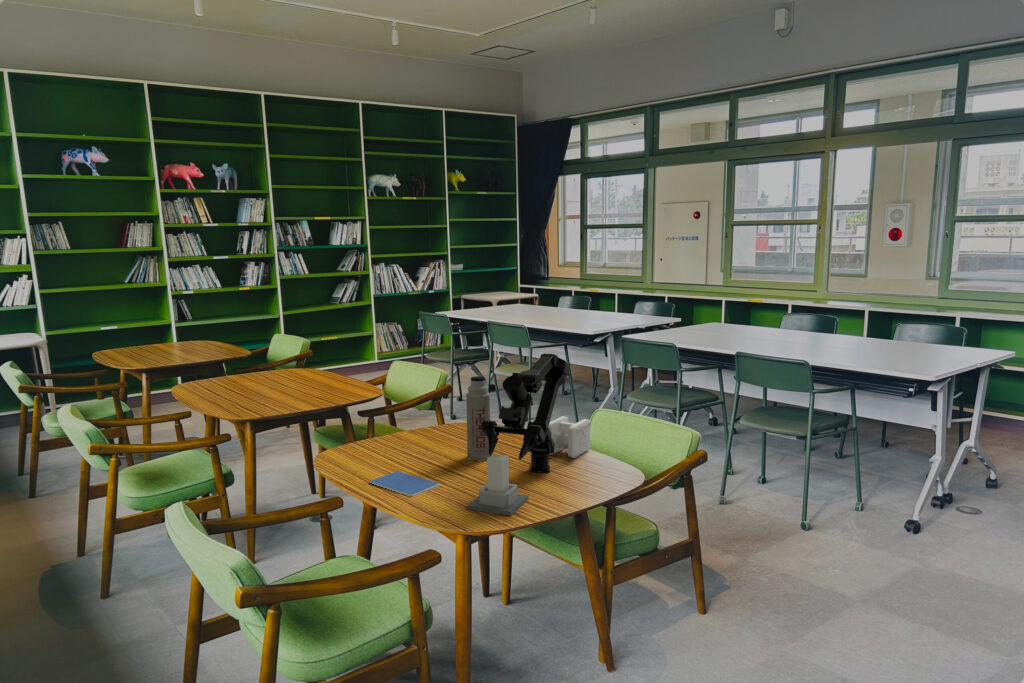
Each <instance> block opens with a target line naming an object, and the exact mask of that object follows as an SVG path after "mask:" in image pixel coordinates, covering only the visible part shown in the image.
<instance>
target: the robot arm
mask: <svg viewBox="0 0 1024 683" xmlns="http://www.w3.org/2000/svg"><path fill="white" fill-rule="evenodd" d="M569 374H570V365H569V364H568V362H567V361H566V360H565V359H563V358H560V357H559V356H558V355H557V354H555V353H541V354H540V356H539V359H537V361H536V362H535V363H534V364H533V365H532V366H531V367H530V368H529V369H527V370H523V371H520V372H512V375H510V376H508V377H506V378H505V379H504V380H503V382H502V388H503V390H504V392H505V394H506V396H507V397H508V399H509V400H510V401H511V404H510V406H509V407H499V411H498V418H497V419H498V420H499V419H501V423H502V425H498V424H497V422H496V420H491V419H490V420H484V421H482V423H481V426H480V428H481V429H482V431H483V433H484V434H485V436H487V437H488V442H489V455H490V456H492V455H493V454H494V451H495V448H496V446H497V443H498V441H499V435H500V434H502V433H503V434H508V435H509V434H510V435H517V436H523V442H522V445H521V449H520V450H519V454H518V459H519V460H520V461H521V460H523V458H524V457H525V456H526V455H527V454H528V453H530V464H529V473H551V466H550V464H549V461H550V458H549V456H550V453H554V449H555V443H554V441H553V439H552V437H551V435H552V434H551V431H550V428H549V423H550V422H551V419H552V416H553V411H554V409H555V408H554V407H555V404H556V399H557V396H558V393H559V389H560V387H561V386H562V385H563V384H564V383H566V380H567V378H568V376H569ZM543 379H544V380H545V383H544V386H543V382H542V380H543ZM542 386H543V390H542V393H541V397H540V400H539V404H538V407H537V411H536V415H535V417H534V418H535V419H534V420H533V421H529V413H530V410H531V406H534V401H533V397H532V395H531V394H537V393H539V391H540V390H541V389H542ZM527 422H528V423H527ZM526 424H527V427H526V428H525V426H526ZM503 425H504V426H503Z"/></svg>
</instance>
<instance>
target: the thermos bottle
mask: <svg viewBox="0 0 1024 683" xmlns="http://www.w3.org/2000/svg"><path fill="white" fill-rule="evenodd" d="M467 390H468V391H467V393H465V394H466V396H465V397H466V400H465V401H466V444H467V445H466V446H467V448H466V450H467V451H466V452H467V454H466V455H467V457H468V458H469V459H471V460H470V461H473V460H477V461H476V462H479V461H478V460H484V461H487V458H489V457H490V455H489V442H488V437H487V436H485V434H484V433H483V431H482V429H481V428H480V426H481V423H482V421H484V420H491V394H490V392H489V387H488V386H487V385H486V377H484V376H480V375H479V376H471V377H470V386H468V388H467ZM467 457H466V458H467ZM468 458H467V459H468ZM469 459H468V460H469Z"/></svg>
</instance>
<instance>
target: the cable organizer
mask: <svg viewBox="0 0 1024 683" xmlns="http://www.w3.org/2000/svg"><path fill="white" fill-rule="evenodd" d="M591 427H592V422H591V419H587V418H583V419H582V420H580V421H578V422H576V423H574V422H569V417H568V416H564V415H563V416H560V417H558V418H556V419H554V420H552V421H550V423H549V428H550V431H551V434H552V435H551V437H552V439H553V441H554V443H555V449H554V453H556V454H557V453H559V452H560V451H562V450H564V449H565V451H564V452H565V454H567V456H568V457H569V458H572V459H573V458H575V459H576V458H578V457H579V456H580V455H582V454H585V453H586V451H588V450H589V449H590V447H591V437H592V436H591V434H592V433H591V431H592V430H591ZM554 453H550V454H551V455H550V454H549V455H550V456H554V455H555V454H554ZM553 454H554V455H553Z"/></svg>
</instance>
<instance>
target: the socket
mask: <svg viewBox="0 0 1024 683" xmlns="http://www.w3.org/2000/svg"><path fill="white" fill-rule="evenodd" d="M518 491H519V488H518V484H515V483H514V484H513V483H509V490H508V491H507V492H506V493H505V494H503V493H497V492H490V491H488V482H487V483H486V484H485V485H483V486H482V487H480V488H479V490H478V496H477V497H475V499H473V500H471V502H469V503H467V505H466V506H467V507H466V509H467V510H469V511H470V510H471V511H476V510H477V512H482V511H483V513H488V512H489V513H488V514H494V513H496V514H495V515H500V514H503V515H502V516H506V515H511V516H513V515H514V514H515V513H516V512H517V511H518V510H519V509H520V508H521V507H523V506H524V504H525V502H526V501H527V500H528V499H529V500H530V495H527V494H521V493H518ZM529 500H528V501H529ZM528 501H527V502H528ZM527 502H526V503H527ZM520 506H521V507H520ZM519 507H520V508H519ZM518 508H519V509H518ZM517 509H518V510H517ZM516 510H517V511H516ZM515 511H516V512H515ZM514 512H515V513H514ZM513 513H514V514H513ZM512 514H513V515H512Z"/></svg>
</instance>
